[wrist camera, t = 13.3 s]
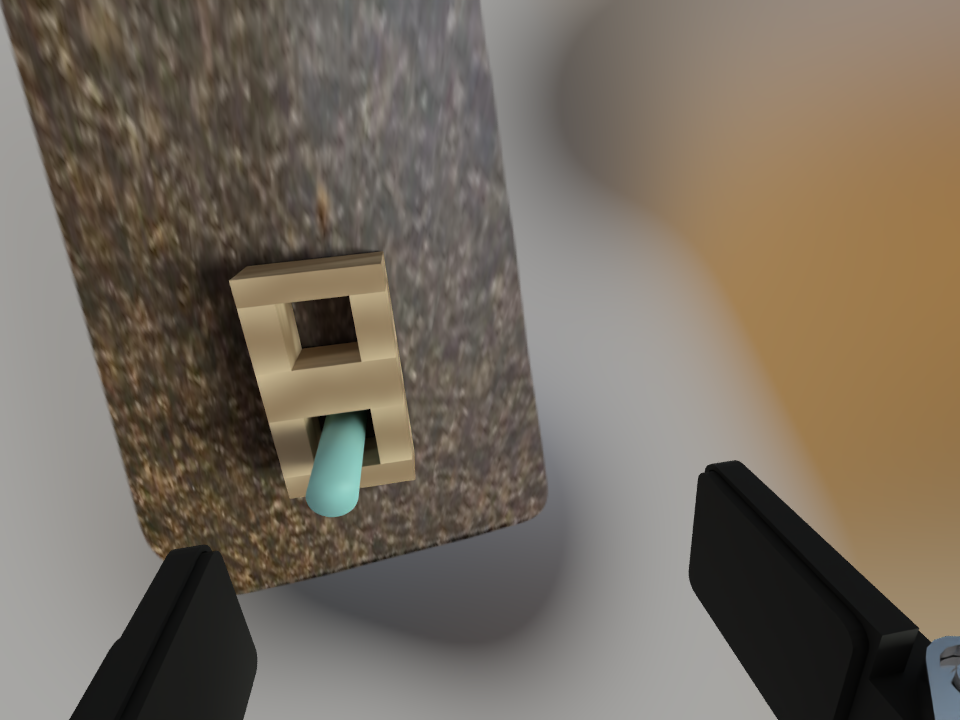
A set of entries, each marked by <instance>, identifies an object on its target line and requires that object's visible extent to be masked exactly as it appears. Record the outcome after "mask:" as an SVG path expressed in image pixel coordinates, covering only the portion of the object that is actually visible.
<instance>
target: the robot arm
mask: <svg viewBox="0 0 960 720" xmlns="http://www.w3.org/2000/svg"><path fill="white" fill-rule="evenodd" d="M689 580H690V583H691V586H692V589H693V591H694V592H695V594H696V596H697V597H698V599H699V600H700V601H701V603H702V605H703V606H704V608H705V609H706V611H707V612H708V614H709V615H710V617H711V618H712V620H713V621H714V623H715V624H716V626H717V627H718V629H719V631H720V632H721V634H722V635H723V636H724V638H725V640H726V641H727V643H728V644H729V646H730V647H731V649H732V650H733V652H734V653H735V655H736V656H737V658H738V660H739V661H740V662H741V664H742V666H743V667H744V669H745V670H746V672H747V673H748V675H749V676H750V678H751V679H752V681H753V682H754V684H755V685H756V687H757V688H758V690H759V692H760V693H761V694H762V696H763V698H764V699H765V701H766V702H767V704H768V705H769V706H770V708H771V710H772V711H773V713H774V714H775V716H776V717H777V719H778V720H960V636H945V637H942V638H939V639H936V640H934V641H933V642H932V643H931V642H930V641H929V640H928V639H927V638H926V637H925V636H924V635H923V634H922V633H921V632H920V631H919V628H918V627H917V626H916V625H915V624H914V623H913V622H912V621H911V620H910V619H909V618H908V617H907V616H906V615H905V614H903V613H902V612H901V611H900V610H899V609H898V608H897V607H896V606H895V605H894V604H893V603H891V602H890V600H888V599H887V598H886V597H885V596H884V595H883V594H882V593H881V592H880V591H879V590H878V589H877V588H875V586H873V585H872V584H871V583H870V582H869V581H868V580H867V579H866V578H865V577H864V576H863V575H862V574H861V573H859V572H858V571H857V570H856V569H855V568H854V567H853V566H852V565H851V564H850V563H849V562H848V561H846V560H845V559H844V558H843V557H842V556H841V555H840V554H839V553H838V552H837V551H836V550H835V549H834V548H833V547H832V546H831V545H829V544H828V543H827V542H826V541H825V540H824V539H823V538H822V537H821V536H820V535H819V534H818V533H817V532H816V531H814V530H813V529H812V528H811V527H810V526H809V525H808V524H807V523H806V522H805V521H804V520H803V519H802V518H800V517H799V516H798V515H797V514H796V513H795V512H794V511H793V510H792V509H791V508H790V507H789V506H788V505H787V504H786V503H784V502H783V501H782V500H781V499H780V498H779V497H778V496H777V495H776V494H775V493H774V492H773V491H772V490H770V489H769V488H768V487H767V486H766V485H765V484H764V483H763V482H762V481H761V480H760V479H759V478H758V477H757V476H755V475H754V474H753V473H752V472H751V471H750V470H749V469H748V468H747V467H746V466H745V465H744V464H742V463H741V462H739V461H736V460H734V461H727V462H721V463H715V464H710V465H708V466H707V467H706V468H705V473H701V474H700V475H699V477H698V484H697V494H696V504H695V515H694V524H693V534H692V545H691V554H690V564H689ZM256 670H257V652H256V649H255V646H254V643H253V641H252V637H251V635H250V632H249V629H248V626H247V624H246V621H245V618H244V616H243V613H242V610H241V607H240V604H239V602H238V599H237V596H236V593H235V590H234V588H233V585H232V582H231V579H230V577H229V574H228V571H227V568H226V566H225V563H224V560H223V557H222V555H221V553H220V552H219V551H213V552H212V550H211V549H210V547H209V546H208V545H199V546H193V547H186V548H180V549H174V550H172V551H170V552H169V554H168V555H167V556H166V558H165V560H164V562H163V563H162V565H161V567H160V569H159V571H158V573H157V574H156V576H155V578H154V579H153V581H152V583H151V585H150V586H149V588H148V590H147V592H146V593H145V595H144V597H143V599H142V601H141V602H140V604H139V606H138V608H137V609H136V611H135V613H134V615H133V616H132V618H131V620H130V622H129V623H128V625H127V627H126V629H125V630H124V632H123V634H122V636H121V638H120V639H118V640H117V641H116V642H115V643H114V645H113V646H112V647H111V649H110V650H109V652H108V654H107V655H106V657H105V659H104V660H103V662H102V664H101V666H100V667H99V669H98V671H97V673H96V674H95V676H94V678H93V679H92V681H91V683H90V685H89V686H88V688H87V690H86V692H85V693H84V695H83V697H82V699H81V700H80V702H79V704H78V706H77V707H76V709H75V711H74V712H73V714H72V716H71V718H70V719H69V720H243V718H244V715H245V711H246V707H247V704H248V700H249V697H250V693H251V689H252V686H253V682H254V678H255V675H256Z"/></svg>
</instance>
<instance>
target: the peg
mask: <svg viewBox="0 0 960 720" xmlns="http://www.w3.org/2000/svg"><path fill="white" fill-rule="evenodd" d="M367 417H368V413H367V409H366V410H359V411H351V412H344V413H337V414H330V415H326V419H325V423H324V426H323V430H322V434H321V438H320V442H319V445H318V449H317V453H316V457H315V461H314V464H313V468H312V472H311V476H310V480H309V483H308V487H307V491H306V501H307V504H308V505H309V507H310V508H311V509H312V510H313V511H314V512H316V513H318V514H320V515H322V516H327V517H337V516H342V515H344V514H346V513H348V512H350V511H351V510H352V509H353V508H354V507H355V505H356V504H357V501H358V496H359V487H360V478H361V469H362V460H363V452H364V443H365V434H366V425H367Z"/></svg>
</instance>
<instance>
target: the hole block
mask: <svg viewBox="0 0 960 720" xmlns="http://www.w3.org/2000/svg"><path fill="white" fill-rule="evenodd" d="M229 282H230V286H231V290H232V293H233V297H234V300H235V304H236V307H237V311H238V315H239V318H240V322H241V325H242V329H243V333H244V336H245V340H246V343H247V347H248V350H249V354H250V358H251V361H252V365H253V368H254V372H255V376H256V379H257V383H258V386H259V390H260V393H261V397H262V401H263V404H264V408H265V411H266V415H267V419H268V422H269V426H270V429H271V433H272V436H273V440H274V444H275V447H276V451H277V454H278V458H279V462H280V465H281V469H282V472H283V476H284V479H285V483H286V487H287V490H288V494H289V497H290V499H291V498H298V497H304V496H306V491H307V487H308V483H309V480H310V476H311V472H312V468H313V464H314V461H315V457H316V453H317V449H318V445H319V442H320V438H321V434H322V432H321V427H320V423H319V419H318V416H322V415H330V414H337V413H344V412H351V411H359V410H366V409H371V415H372V420H373V425H374V431H375V437H368V438H365V443H364V452H363V460H362V469H361V478H360V487H359V488H363V487H370V486H376V485H383V484H389V483H396V482H402V481H409V480H415V460H414V446H413V440H412V434H411V427H410V421H409V414H408V408H407V402H406V395H405V389H404V382H403V376H402V370H401V363H400V357H399V350H398V344H397V337H396V331H395V325H394V318H393V312H392V305H391V299H390V293H389V286H388V280H387V273H386V267H385V260H384V254H383V251H382V252H373V253H363V254H354V255H345V256H336V257H327V258H318V259H309V260H300V261H290V262H281V263H272V264H263V265H254V266H247V267H246V268H244V269H243V270H242V271H241V272H239V273H238V274H237V275H236V276H234V277H233V278H232V279H230V280H229ZM342 296H349V298H350V303H351V308H352V314H353V319H354V324H355V330H356V335H357V340H358V342H351V343H344V344H336V345H328V346H320V347H312V348H304V349H302V346H301V342H300V338H299V334H298V329H297V325H296V321H295V317H294V312H293V308H292V304H291V302H299V301H307V300H316V299H324V298H333V297H342Z"/></svg>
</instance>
